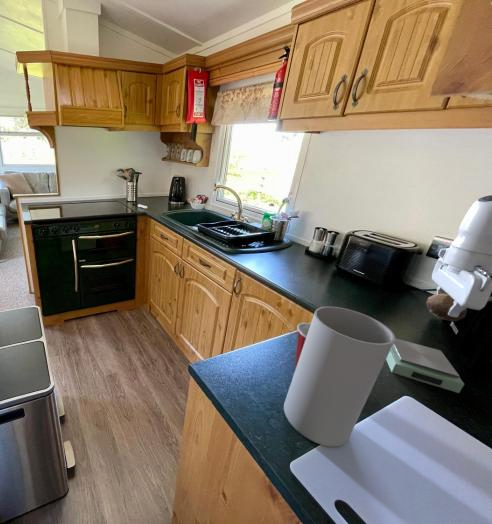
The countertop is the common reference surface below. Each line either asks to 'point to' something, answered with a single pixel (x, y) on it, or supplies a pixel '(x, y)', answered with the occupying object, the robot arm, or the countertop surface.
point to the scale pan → (423, 357)
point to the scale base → (423, 374)
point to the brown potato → (443, 307)
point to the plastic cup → (301, 338)
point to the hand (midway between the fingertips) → (444, 308)
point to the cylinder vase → (336, 374)
